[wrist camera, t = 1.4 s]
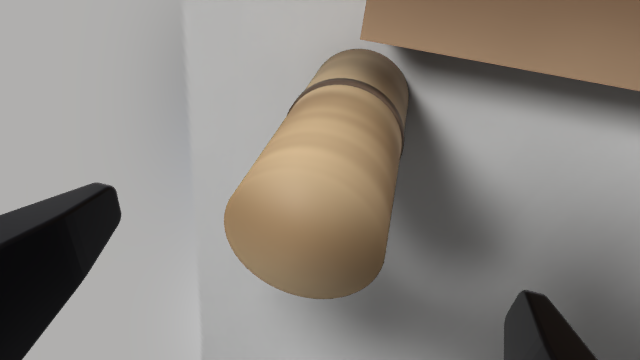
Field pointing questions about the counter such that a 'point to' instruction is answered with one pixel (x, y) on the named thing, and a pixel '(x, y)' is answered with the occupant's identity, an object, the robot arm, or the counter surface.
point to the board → (519, 34)
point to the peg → (325, 182)
